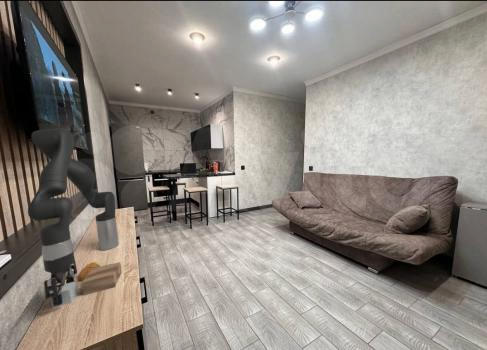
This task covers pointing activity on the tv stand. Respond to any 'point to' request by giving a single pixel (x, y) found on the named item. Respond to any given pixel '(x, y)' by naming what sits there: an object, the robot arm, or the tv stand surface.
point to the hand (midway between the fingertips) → (65, 296)
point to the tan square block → (101, 278)
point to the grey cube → (68, 293)
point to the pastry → (87, 270)
